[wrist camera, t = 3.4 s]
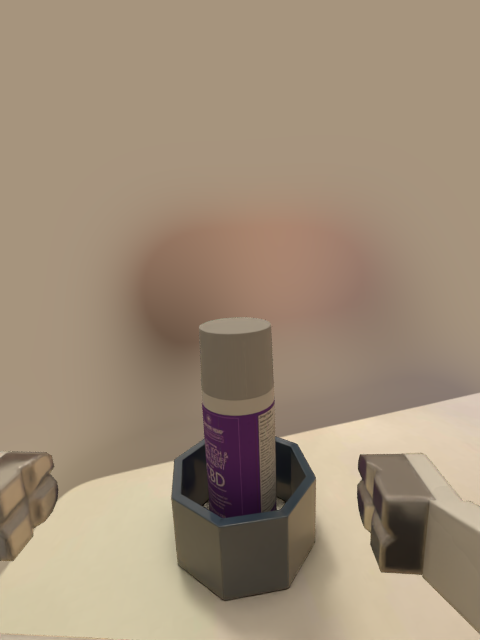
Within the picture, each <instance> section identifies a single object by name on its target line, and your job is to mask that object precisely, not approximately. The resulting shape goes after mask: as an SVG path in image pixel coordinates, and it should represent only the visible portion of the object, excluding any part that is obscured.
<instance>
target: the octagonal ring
mask: <svg viewBox="0 0 480 640" xmlns="http://www.w3.org/2000/svg"><path fill="white" fill-rule="evenodd" d="M275 456H276V496H277V497H279V498H281V499H283V500H285V501H287V502H286V503H285V505H284V506H283V507H282V508H281V510H274V511H267V512H261V513H254V514H248V515H241V516H234V517H228V518H221V517H220V516H218V515H216V514H214V513H213V512H211V511H209V510H208V509H206V508H204V507H203V506H202V505H203V504H204V503H205V502H206V501H208V500H209V493H208V479H207V465H206V451H205V438H204V439H203V440H202V441H200V442H199V443H197V444H196V445H194V446H193V447H191V448H190V449H189V450H187V451H186V452H184V453H183V454H181V455H180V456H179V457H177V458H176V459H175V460H174V470H173V483H172V495H171V500H172V510H173V520H174V531H175V541H176V551H177V562H178V565H179V566H180V567H182V568H183V569H184V570H186V571H187V572H188V573H189V574H191V575H192V576H193V577H194V578H196V579H197V580H198V581H200V582H201V583H202V584H203V585H205V586H206V587H207V588H209V589H210V590H211V591H212V592H214V593H215V594H216V595H218V596H219V597H220V598H221V599H223V600H229V599H234V598H240V597H245V596H250V595H256V594H261V593H267V592H272V591H277V590H283V589H287V588H289V587H290V585H291V583H292V581H293V580H294V578H295V576H296V574H297V573H298V571H299V569H300V567H301V566H302V564H303V562H304V561H305V559H306V557H307V555H308V554H309V552H310V550H311V548H312V547H313V545H314V543H315V512H316V477H315V475H314V473H313V471H312V470H311V468H310V466H309V464H308V462H307V461H306V459H305V457H304V455H303V453H302V452H301V450H300V448H299V446H298V444H296V443H293V442H290V441H287V440H285V439H282V438H279V437H276V436H275Z"/></svg>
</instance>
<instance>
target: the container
mask: <svg viewBox="0 0 480 640" xmlns="http://www.w3.org/2000/svg"><path fill="white" fill-rule="evenodd" d="M199 336H200V362H201V385H202V409H203V421H204V422H203V423H204V435H205V436H204V437H205V451H206V465H207V479H208V493H209V507H210V511H211V512H213V513H214V514H216V515H218V516H220V517H221V518H228V517H234V516H241V515H248V514H254V513H261V512H267V511H274V510H276V456H275V403H274V401H275V400H274V381H273V359H272V338H271V324H270V322H268V321H266V320H262V319H257V318H225V319H217V320H212V321H208V322H206V323H203V324H201V325H200V326H199Z"/></svg>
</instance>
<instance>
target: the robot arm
mask: <svg viewBox="0 0 480 640" xmlns="http://www.w3.org/2000/svg"><path fill="white" fill-rule="evenodd" d="M53 468H54V463H53V459H52V456H51V455H50V454H48V453H47V452H10V451H0V561H14V559H15V558H16V557H17V556H18V554H19V553H20V552H21V551H22V550H23V548H24V547H25V546H26V545H27V543H28V542H29V541H30V540H31V538H32V537H33V528H35V527H36V526H38V525H40V524H41V523H43V522H44V521H46V519H47V518H48V517H49V516H50V514H51V513H52V512H53V509H54V507H55V504H56V502H57V498H58V485H57V481H56V480H55V479H54V478H53V477H52V475H51V474H50V473H51V471H52V470H53ZM358 470H359V473H360V475H361V477H362V480H361V481H360V483H359V484H358V485H357V499H358V507H359V512H360V516H361V520H362V523H363V526H364V528H365V529H366V530H368V531H369V532H370V533H371V543H370V545H371V547H372V550H373V553H374V555H375V558H376V561H377V563H378V566H379V569H380V571H381V572H385V573H402V574H418V575H423V576H422V577H423V578H424V579H425V580H426V581H427V582H428V583H429V584H430V585H431V586H432V587H433V588H434V589H435V590H436V591H437V592H438V593H439V594H440V595H441V596H442V597H443V598H444V599H445V600H446V601H447V602H448V603H449V604H450V605H451V606H452V607H453V608H454V609H455V610H456V611H457V612H458V613H459V614H460V615H461V616H462V617H463V618H464V619H465V620H466V621H467V622H468V623H469V624H470V625H471V626H472V627H473V628H474V629H475V630H476V631H477V632H478V633H479V634H480V506H479V505H477V504H475V503H473V502H471V501H463V500H462V499H461V497H460V496H459V495H458V494H457V492H456V491H455V490H454V489H453V488H452V486H451V485H450V484H449V483H448V481H447V480H446V479H445V478H444V476H443V475H442V474H441V473H440V472H439V470H438V469H437V468H436V467H435V465H434V464H433V463H432V462H431V460H430V459H429V458H428V457H427V456H426V455H425V454H423V453H407V454H366V455H360V457H359V462H358ZM0 640H129V639H108V638H87V637H67V636H46V635H24V634H3V633H0Z"/></svg>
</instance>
